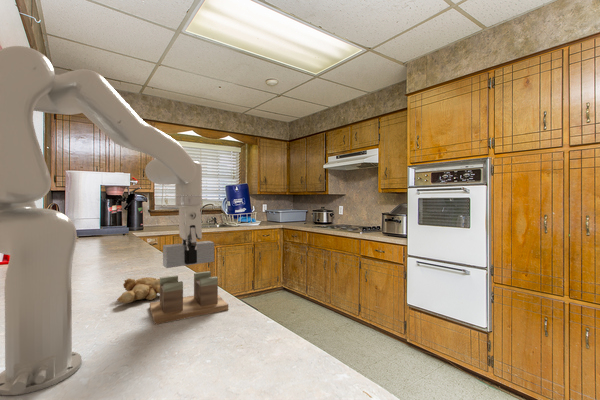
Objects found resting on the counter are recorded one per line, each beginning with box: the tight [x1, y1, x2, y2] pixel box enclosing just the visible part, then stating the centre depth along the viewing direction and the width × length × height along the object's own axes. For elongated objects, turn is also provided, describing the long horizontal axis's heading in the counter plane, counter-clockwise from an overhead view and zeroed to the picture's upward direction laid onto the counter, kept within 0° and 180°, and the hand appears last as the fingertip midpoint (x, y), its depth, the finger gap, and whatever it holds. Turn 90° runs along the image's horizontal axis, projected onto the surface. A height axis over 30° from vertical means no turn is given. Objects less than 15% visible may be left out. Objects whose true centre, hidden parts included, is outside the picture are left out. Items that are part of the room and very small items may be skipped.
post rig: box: [149, 270, 229, 325], centre depth 90 cm, size 14×20×10 cm
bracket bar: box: [162, 240, 215, 269], centre depth 90 cm, size 4×14×6 cm, turn 128°
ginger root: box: [116, 276, 160, 304], centre depth 100 cm, size 16×16×8 cm
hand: (189, 261), depth 90 cm, fingers closed on bracket bar, 4 cm apart
